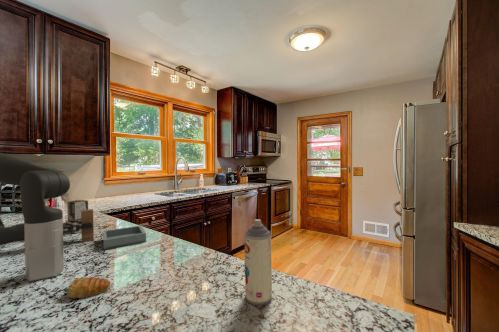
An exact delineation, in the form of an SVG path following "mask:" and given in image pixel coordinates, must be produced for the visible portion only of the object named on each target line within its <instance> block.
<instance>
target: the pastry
mask: <svg viewBox="0 0 499 332" xmlns="http://www.w3.org/2000/svg"><path fill="white" fill-rule="evenodd" d="M110 287H111V281H110V280H108V279H105V278H102V277H101V278H100V277H94V276H89V277H88V276H85V277H83V278H81V279H80V278H75V279H74V280H72V282H71V283H70V284H69V286H68V290H67V294H66V295H67V296H66V297H68V298H70V299H76V298H79V299H84V298H83V297H85V298H86V297H88V296H89V297H93V296H96V294H97V295H100V294H102V293H104V292H107V291H108V290H109V288H110ZM92 295H93V296H92ZM89 297H88V298H89Z"/></svg>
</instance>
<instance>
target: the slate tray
mask: <svg viewBox="0 0 499 332" xmlns="http://www.w3.org/2000/svg"><path fill="white" fill-rule="evenodd" d="M102 233H103V234H102V235H103V236H102V237H103V242H102V243H103V250H104V251H105V250H110V249H116V248H121V247H127V246H133V245H138V244H144V243H147V232H146V231H145V230H144V228H143V227H142V225H135V226H129V227H127V226H126V227H120V228H114V229H109V230H103V231H102Z"/></svg>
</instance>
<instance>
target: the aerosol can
mask: <svg viewBox="0 0 499 332" xmlns="http://www.w3.org/2000/svg"><path fill="white" fill-rule="evenodd" d="M253 222H254V223H253V224H252V225H251V226H249V228H247V230H245V232H244V233H245V234H244V278H245V279H244V285H245V286H244V287H245V288H244V289H245V294H244V295H245V301H246V302H248V304H250V305H253V306H260V307H261V306H265V305H267V304H270V302H271V301H272V299H273V298H272V297H273V291H272V289H273V284H272V283H273V282H272V279H273V278H272V275H273V274H272V271H273V270H272V234H271V230H269V229H268V228H267V227H266V226H265V225H264V224H263V223H262V220H261V219H260V218H259V219H257V218H256V219H254V220H253Z"/></svg>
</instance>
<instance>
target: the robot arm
mask: <svg viewBox="0 0 499 332" xmlns="http://www.w3.org/2000/svg"><path fill="white" fill-rule="evenodd" d="M0 183H3V184H7V185H11V186H19V193H20V195H21V197H20V200H21V201H20V202H21V203H20V205H21V213H22V216H23V223H18V224H14V225H11V226H5V224H4V222H3V220H2V218H1V217H0V246H3V245H8V244H12V243H15V242H24V267H25V268H24V269H25V272H24V273H25V280H28V282H33V281H38V280H42V279H47V278H51V277H56V275H57V274H60V273H62V272H63V271H64V269H65V265H64V264H65V261H64V259H65V258H64V257H65V256H64V234H65V233H72V232H75V231H79V230H82V229H86V228H92V223H85V224H82V225H81V219H78V220H70V221H68V220H66V221H65V222H64V221H63V220H64V219H63V217H64V214H63V209H60V208H56V207H50V206H48V205H47V206H46V205H45V201H44V199H49V200H50V199H54V198H56V197H58V198H59V197H60V196H62V195H64V194H65V193H69V190H70V188H71V187H70V186H71V181H70V179H69V177H68V176H67V175H66V174H65V173H64V172H62V171H61V170H56V169H51V168H45V167H42V166H38V165H36V164H33V163H31V162H27V161H25V160H23V159H20V158H17V157H14V156H11V155H8V154H5V153H2V152H0ZM20 195H19V196H20ZM60 198H61V197H60ZM56 199H57V198H56Z"/></svg>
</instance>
